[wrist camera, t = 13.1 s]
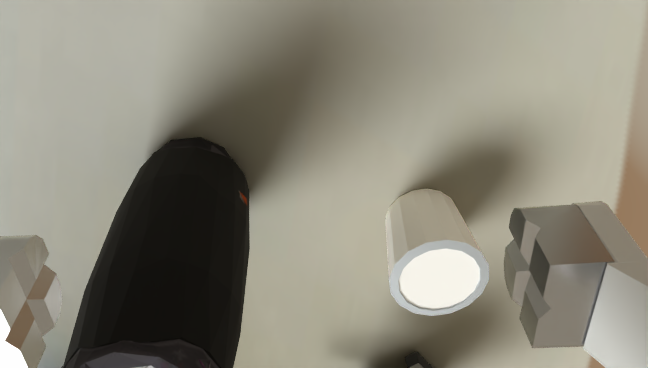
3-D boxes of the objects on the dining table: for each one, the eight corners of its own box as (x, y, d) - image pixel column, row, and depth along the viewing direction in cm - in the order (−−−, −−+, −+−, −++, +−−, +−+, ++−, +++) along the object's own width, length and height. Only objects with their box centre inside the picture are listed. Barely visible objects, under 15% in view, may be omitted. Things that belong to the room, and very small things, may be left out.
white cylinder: (430, 165, 45) (451, 223, 39) (483, 219, 47) (510, 281, 42) (358, 218, 47) (368, 280, 41) (413, 266, 50) (429, 331, 44)
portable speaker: (247, 123, 42) (220, 342, 26) (259, 231, 47) (243, 470, 31) (121, 129, 42) (14, 353, 25) (147, 237, 47) (71, 480, 31)
